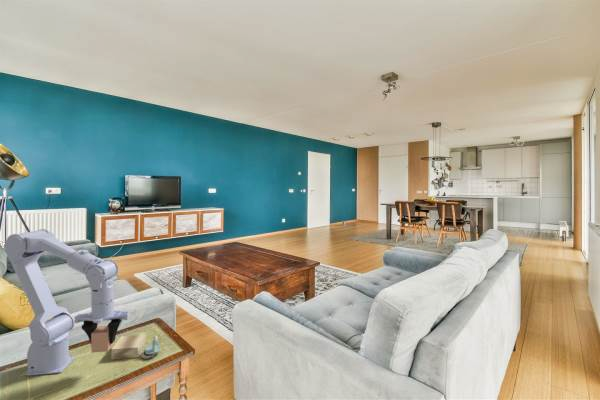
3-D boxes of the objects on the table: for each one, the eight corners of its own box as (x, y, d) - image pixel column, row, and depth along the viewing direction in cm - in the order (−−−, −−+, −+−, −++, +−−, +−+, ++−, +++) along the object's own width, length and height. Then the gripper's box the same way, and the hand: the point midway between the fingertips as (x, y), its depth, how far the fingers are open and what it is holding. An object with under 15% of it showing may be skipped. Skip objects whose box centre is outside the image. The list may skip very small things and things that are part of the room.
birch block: (111, 359, 95) (111, 349, 95) (121, 345, 103) (121, 336, 103) (137, 357, 97) (137, 347, 97) (145, 343, 105) (145, 334, 104)
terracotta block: (91, 352, 86) (91, 333, 86) (98, 344, 91) (98, 326, 90) (108, 351, 87) (107, 332, 87) (114, 342, 92) (114, 325, 91)
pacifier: (140, 362, 95) (160, 357, 97) (139, 344, 94) (159, 340, 97) (142, 350, 101) (160, 345, 104) (141, 333, 101) (160, 329, 103)
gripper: (68, 307, 82) (69, 352, 83) (123, 304, 85) (123, 348, 86) (81, 297, 89) (82, 339, 90) (132, 295, 92) (132, 335, 93)
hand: (103, 342), depth 89 cm, fingers closed on terracotta block, 4 cm apart
